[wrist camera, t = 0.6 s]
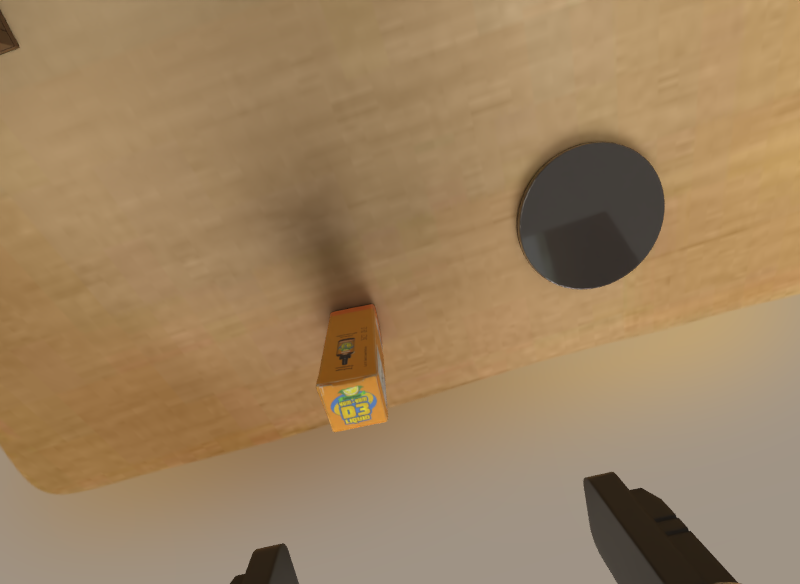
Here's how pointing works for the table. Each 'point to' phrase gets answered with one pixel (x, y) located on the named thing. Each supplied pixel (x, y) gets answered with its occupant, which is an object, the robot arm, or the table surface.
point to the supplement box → (353, 370)
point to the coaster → (590, 215)
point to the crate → (6, 37)
